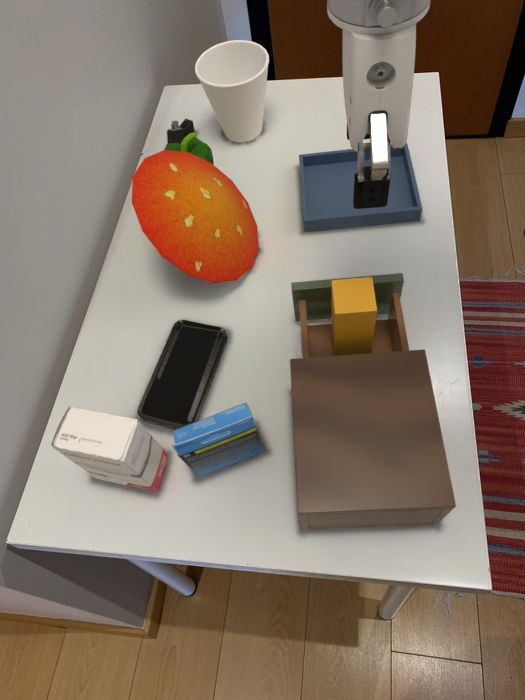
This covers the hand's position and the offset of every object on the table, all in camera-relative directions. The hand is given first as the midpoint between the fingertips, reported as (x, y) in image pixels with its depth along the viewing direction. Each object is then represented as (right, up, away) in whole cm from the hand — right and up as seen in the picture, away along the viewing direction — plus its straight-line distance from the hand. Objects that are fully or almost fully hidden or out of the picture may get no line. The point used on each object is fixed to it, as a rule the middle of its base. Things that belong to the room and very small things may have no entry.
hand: (365, 170), depth 52 cm
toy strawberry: (-18, -3, +27) cm, 32 cm away
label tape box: (-15, -31, +11) cm, 36 cm away
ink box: (-27, -33, +12) cm, 44 cm away
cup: (-14, +21, +39) cm, 46 cm away
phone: (-21, -22, +17) cm, 34 cm away
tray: (+4, +7, +29) cm, 30 cm away
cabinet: (+1, -30, +9) cm, 32 cm away
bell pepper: (-22, +8, +33) cm, 40 cm away
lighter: (-25, +18, +39) cm, 49 cm away
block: (+1, -18, +13) cm, 22 cm away
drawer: (+1, -19, +14) cm, 24 cm away
